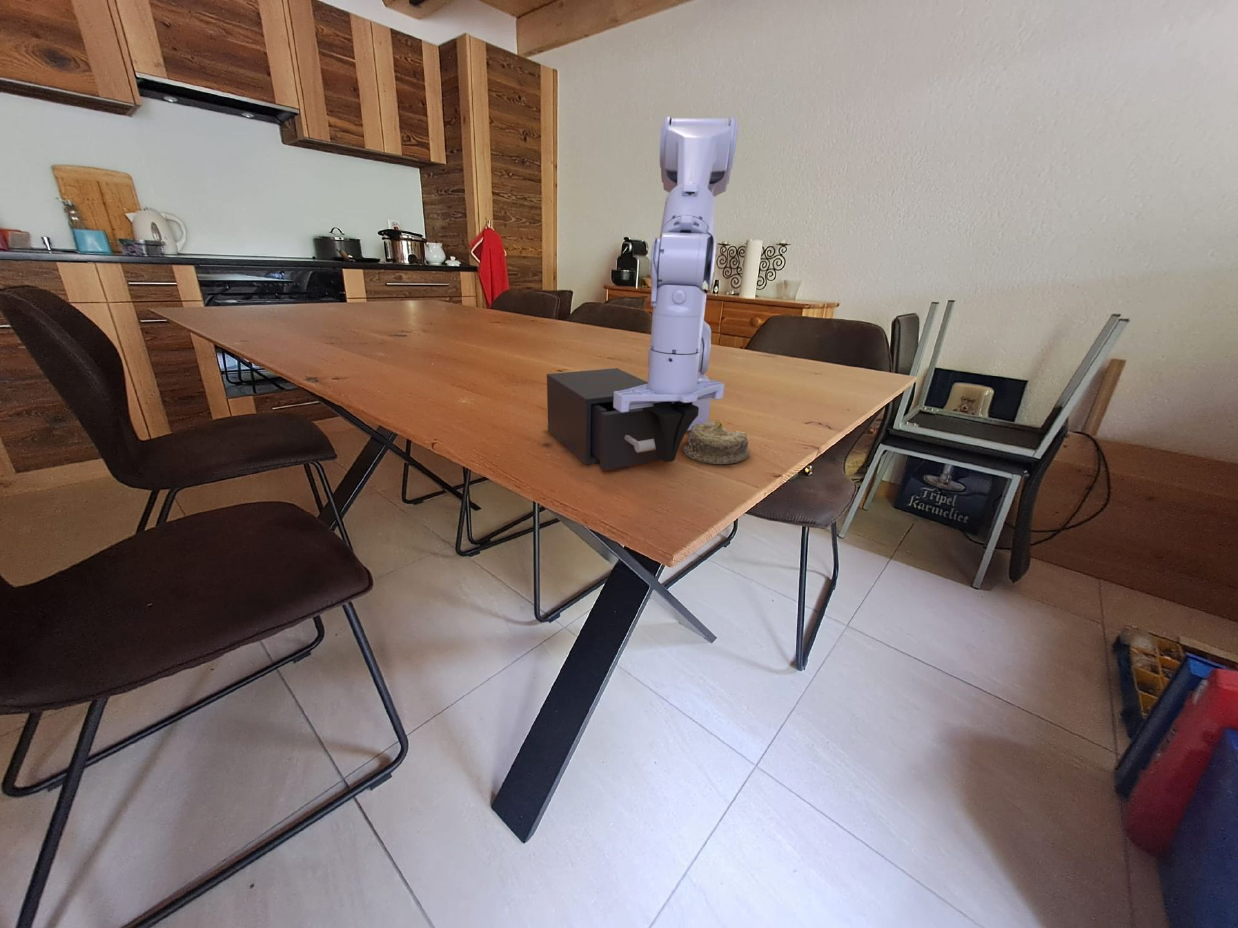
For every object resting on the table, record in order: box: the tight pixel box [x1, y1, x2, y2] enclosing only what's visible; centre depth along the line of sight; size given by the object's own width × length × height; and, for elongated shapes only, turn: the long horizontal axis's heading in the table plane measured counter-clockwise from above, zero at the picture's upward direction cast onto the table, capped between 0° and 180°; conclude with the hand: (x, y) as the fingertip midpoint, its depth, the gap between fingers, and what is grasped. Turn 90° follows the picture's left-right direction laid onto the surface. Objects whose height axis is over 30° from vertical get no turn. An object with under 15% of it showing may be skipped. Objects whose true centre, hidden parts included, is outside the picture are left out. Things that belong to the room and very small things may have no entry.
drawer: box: [590, 402, 662, 472], centre depth 67 cm, size 18×11×8 cm, turn 29°
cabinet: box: [546, 367, 648, 466], centre depth 73 cm, size 15×13×10 cm
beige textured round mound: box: [683, 419, 750, 465], centre depth 71 cm, size 10×10×5 cm
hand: (665, 458), depth 59 cm, fingers closed, pressing on drawer
